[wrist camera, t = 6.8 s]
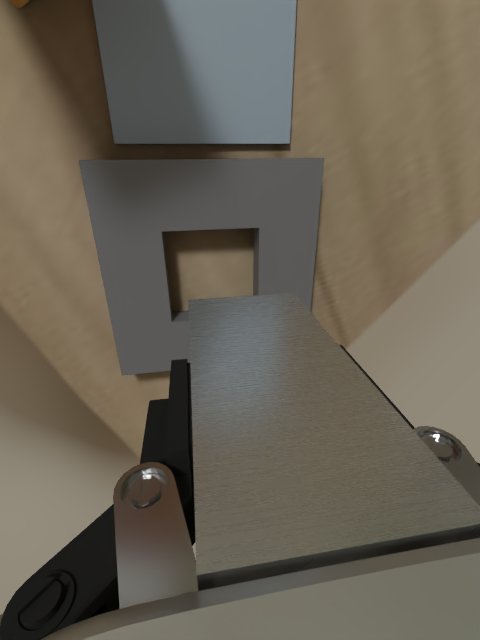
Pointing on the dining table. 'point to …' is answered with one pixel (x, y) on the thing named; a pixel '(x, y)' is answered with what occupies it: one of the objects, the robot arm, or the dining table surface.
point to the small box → (18, 2)
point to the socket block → (194, 214)
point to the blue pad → (198, 70)
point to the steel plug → (302, 451)
